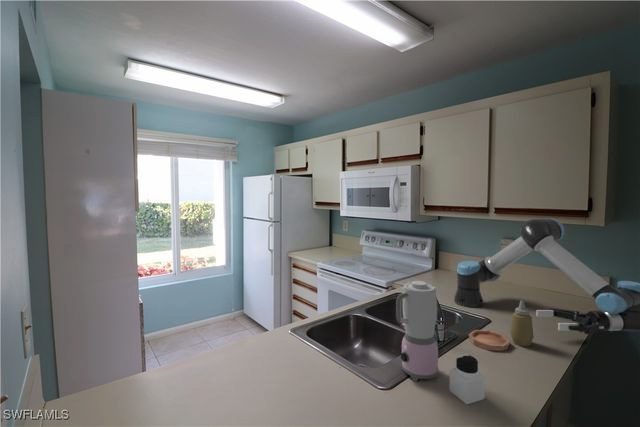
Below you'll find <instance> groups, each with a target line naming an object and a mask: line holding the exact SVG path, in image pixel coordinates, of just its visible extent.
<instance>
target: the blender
mask: <svg viewBox="0 0 640 427" xmlns="http://www.w3.org/2000/svg"><path fill="white" fill-rule="evenodd" d="M437 302H438V301H437V288H436V286H435V285H434V284H430V283H427V282H425V281H423V280H413V281H412V282H408V283H405V284H404V285H403V287H402V293H401V294H399V295H398V296H397V297H396V303H395V306H396V307H395V309H396V315H395V316H396V321H397V322H398V323H399V324H404V329H405V331H404V332H405V334H404V336H403V337H402V341H401V354H400V358H401V367H402V368H401V369H403V372H405V373H406V374H407V375H409V376H410V378H411V380H412V379H414V380H413V381H415V380H418V381H419V379H422V380H424V379H425V380H429V379H433V378H436V377H437V376H438V375H439V346H438V343H437V340H436V337H435V329H436V322H437V316H438V315H437V313H438V312H437V311H438V309H437V307H438V306H437V305H438V304H437Z"/></svg>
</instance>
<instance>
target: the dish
mask: <svg viewBox="0 0 640 427" xmlns="http://www.w3.org/2000/svg"><path fill="white" fill-rule="evenodd" d="M468 338H469V339H470V342H471V343H472V344H473V345H475V347H478V348H481V349H483V350H487V351H492V352H503V351H507V350H508V349H509V346H510V345H511V340H509V339H508V338H507V336H505V335H504V334H502V333H499V332H495V331H492V330H488V329H485V330H484V329H473V330H472V331H470V333H468Z"/></svg>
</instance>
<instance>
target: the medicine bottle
mask: <svg viewBox="0 0 640 427" xmlns="http://www.w3.org/2000/svg"><path fill="white" fill-rule="evenodd" d="M455 360H456V361H455V368H451V369H449V392H451V393H452V394H453V395H454V396H455V397H457V398H458V399H459V400H460V401H462V402H463V403H464V404H465V405H470V404H474V403H476V402H480V401H483V400H485V397H486V392H485V390H486V389H485V388H486V387H485V386H486V384H485V383H486V382H485V380H486V379H485V376H484V375H482V374H481V373H479V372H478V371H479V362H478V360H477V358H476V357H474V356H472V355H469V354H464V353H463V354H457V356H456V357H455Z"/></svg>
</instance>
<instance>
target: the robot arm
mask: <svg viewBox="0 0 640 427" xmlns="http://www.w3.org/2000/svg"><path fill="white" fill-rule="evenodd" d="M519 233H520V236H519V237H517V238H516V239H515V240H513V241H512V242H510V243H509V244H508V245H506V246H505V247H504V248H502V249H500V250H499V251H498V252H497V253H495V254H494V255H492V256H486V257H485V258H484V259H481V261H475V260H463V261H461V262H459V263H458V264H457V269H456V273H457V275H456V276H457V280H456V282H457V283H456V284H457V285H456V286H457V288H456V291H455V294H454V297H453V300H454V301H455V302H457V303H459V304H461V305H460V306H462V305H464V306H463V307H466V306H469V307H468V308H480V307H483V306H484V299H483V296H482V293H481V284H484V283H489V282H494V281H496V280H498V279H499V278H500V277H501V275H502V274H503V273H504V270H505V269H506V268H508V267H509V266H510V265H512V264H515V262H517V261H519V260H520V259H522V258H523V257H524V256H526V255H528V254H530V253H531V252H532V251H535V252H539V253H540V254H542V255H543V257H545V258H546V259H548V261H550V262H551V263H552V264H554V265H555V267H557V268H558V269H559V270H561V271H562V272H563V273H564V274H565V275H567V277H568V278H570V279H571V280H572V281H573V282H574V283H576V284H577V285H578V286H579V287H581V289H583V290H584V291H585V292H586V293H587V294H589V295H590V296H592V298H594V299H595V304H596V306H597V307H598V309H599V310H588V311H587V313H580V311H578V310H570V309H569V310H568V309H560V308H555V307H550V309H536V312H535V314H536V315H535V316H536V317H538V318H540V317H541V318H554V317H557V318H561V319H562V318H563V319H566V320H570V321H572V323H571V322H557V330H558V331H562V332H563V331H565V332H566V331H567V332H570V331H571V332H580V333H583V334H584V335H589V334H592V333H596V332H599V331H601V332H603V331H610V332H614V331H617V332H618V331H619V332H620V331H626V332H627V331H628V332H640V283H639V282H636V281H632V280H630V281H629V280H619V281H618V282H617V286H616V288H615V287H614V286H612V285H611V284H610V283H608V281H606V280H605V279H604V278H602V276H600V275H599V274H597V273H596V272H595V271H594V270H592V269H591V268H589V267H588V266H587V265H585V263H583V262H582V261H581V260H579V259H578V258H577V257H576V256H574V255H573V254H572V253H570V252H569V251H568V250H567V249H565V248H564V247H563V246H561V245H560V244H559V243H558V241H559V240H561V239H562V238H563V237H564V235H565V227H564V225H563V223H562V222H561V221H560V220H558V219H556V218H553V217H551V218H550V217H544V218H537V219H536V218H533V219H529V220H527V221H525V222H524V223H523V224H522V225H521V227H520V231H519ZM455 302H454V303H455ZM459 304H458V305H459Z"/></svg>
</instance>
